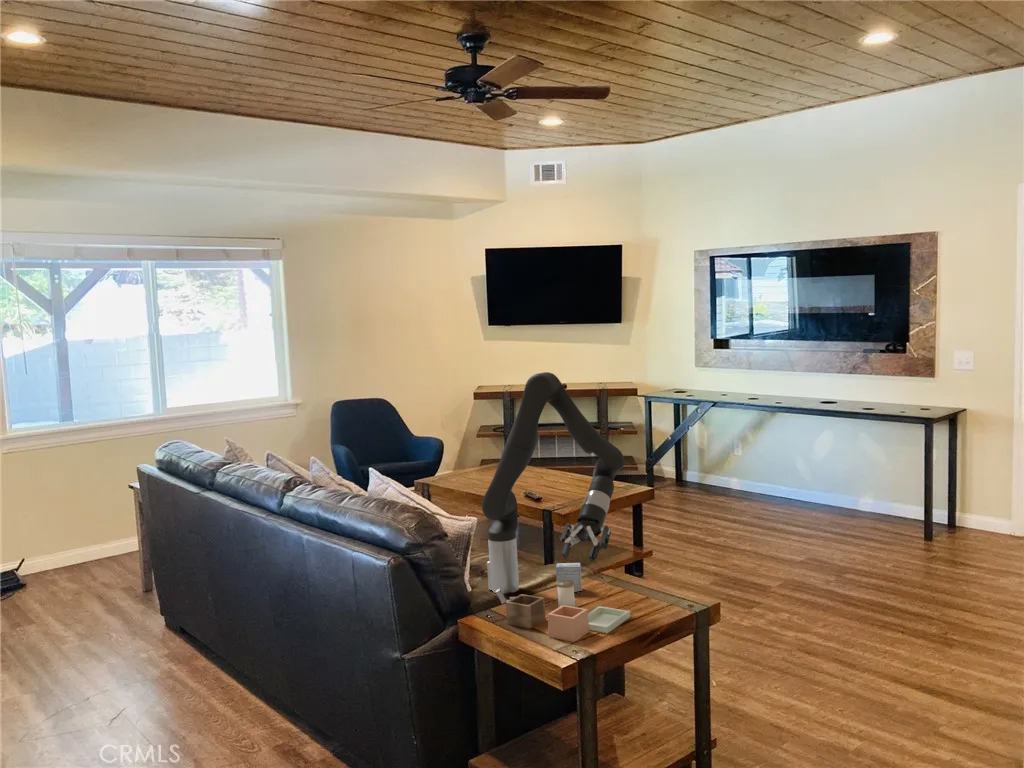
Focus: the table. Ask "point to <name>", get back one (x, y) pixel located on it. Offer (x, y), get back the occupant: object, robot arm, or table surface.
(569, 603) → the cream canister
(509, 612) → the brown open square box
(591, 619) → the sage tray
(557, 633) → the pink square bin
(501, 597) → the lighter
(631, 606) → the table surface
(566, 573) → the medicine box
